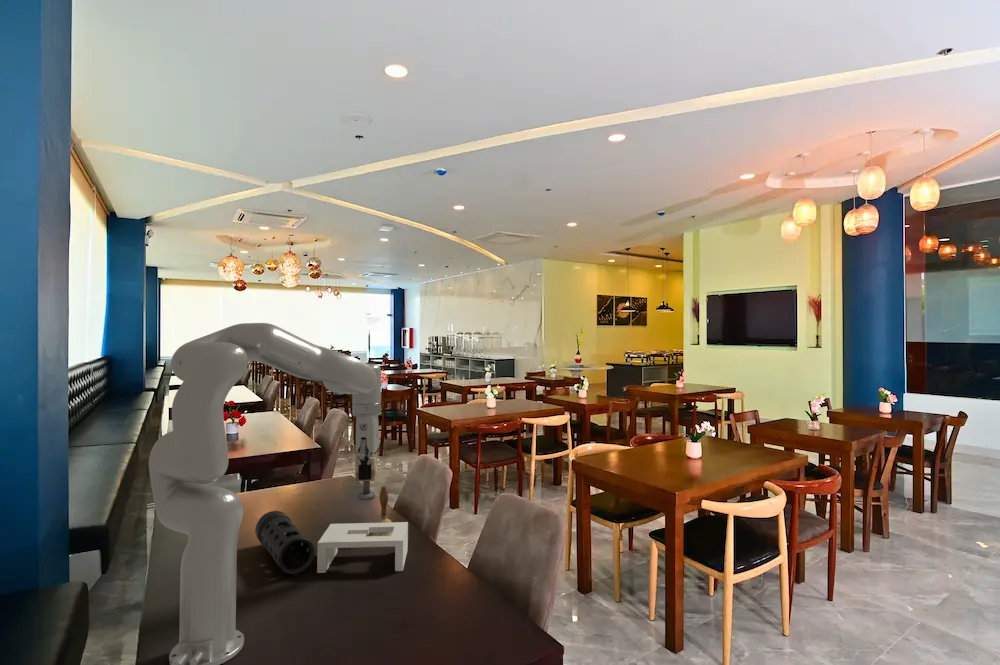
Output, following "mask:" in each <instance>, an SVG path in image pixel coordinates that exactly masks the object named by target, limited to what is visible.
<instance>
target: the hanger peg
mask: <svg viewBox="0 0 1000 665" xmlns="http://www.w3.org/2000/svg"><path fill="white" fill-rule="evenodd" d="M366 456H367V457H368V455H366ZM370 464H371V479H370V480H359V454H358V455H357V456H356V457H355V466H354V467H355V469H354V470H355V479H354V480H355V482H356V483H357V482H362V491H360V492H358V493H357V499H358V500H359V501H365V502H366V501H372V500H374V499H375V498H376V492H375V491H371V482H375V481H376V480H377V477H378V454H377V453H374V454H370Z"/></svg>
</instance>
